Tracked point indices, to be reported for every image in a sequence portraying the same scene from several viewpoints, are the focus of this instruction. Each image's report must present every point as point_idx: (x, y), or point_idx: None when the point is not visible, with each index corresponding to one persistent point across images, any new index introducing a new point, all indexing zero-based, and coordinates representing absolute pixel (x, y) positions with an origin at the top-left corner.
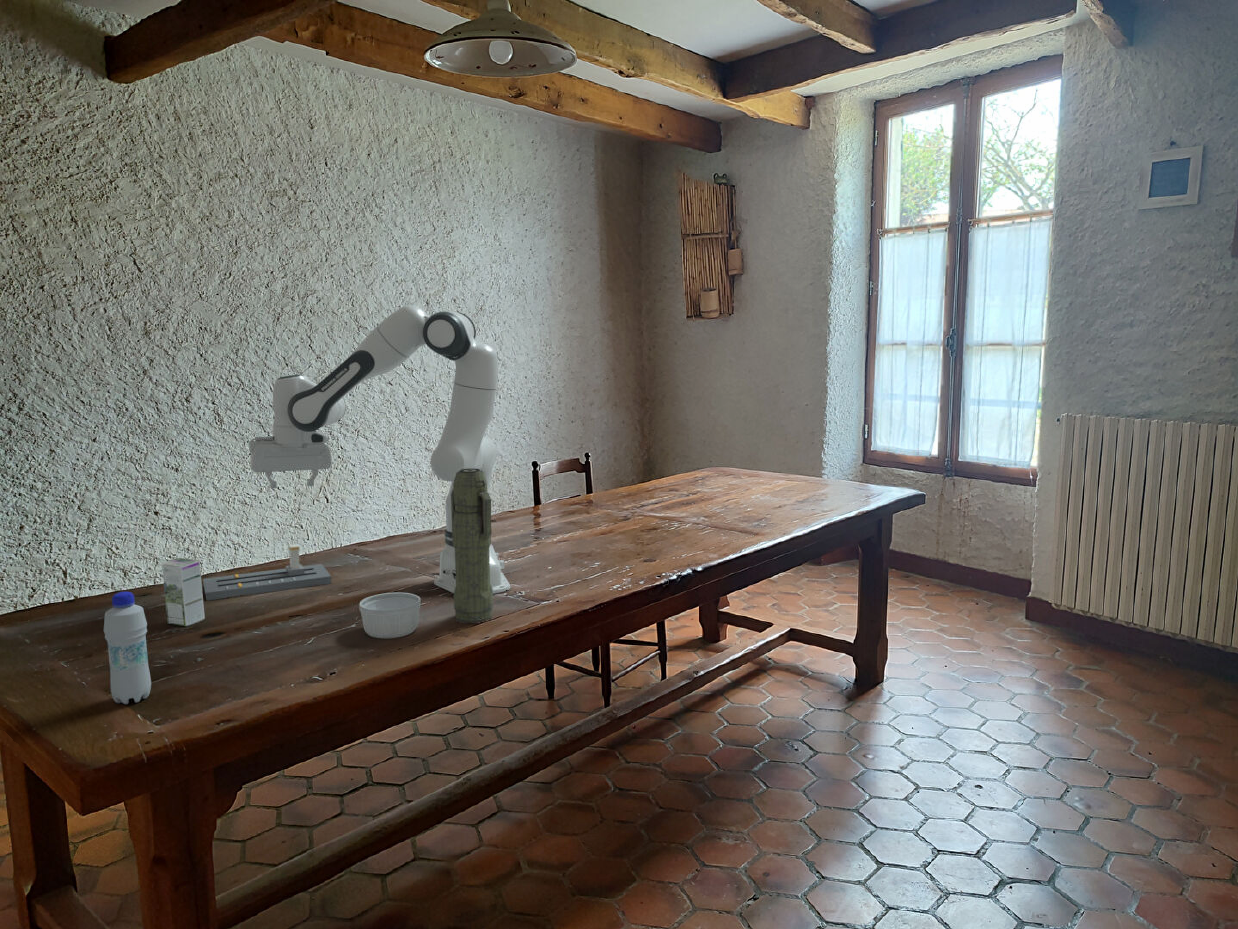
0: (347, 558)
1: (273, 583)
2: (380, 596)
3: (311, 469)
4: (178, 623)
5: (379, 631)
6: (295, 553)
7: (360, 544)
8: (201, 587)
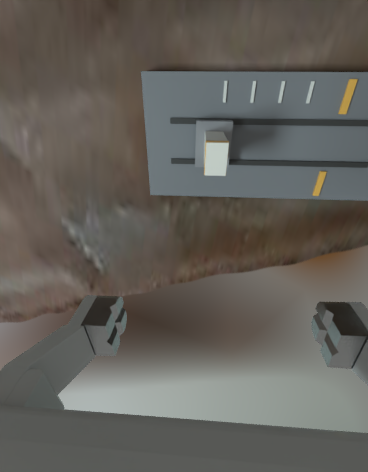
0: (104, 245)
1: (277, 75)
2: None
3: (24, 408)
4: None
5: None
6: (214, 139)
7: None
8: None
